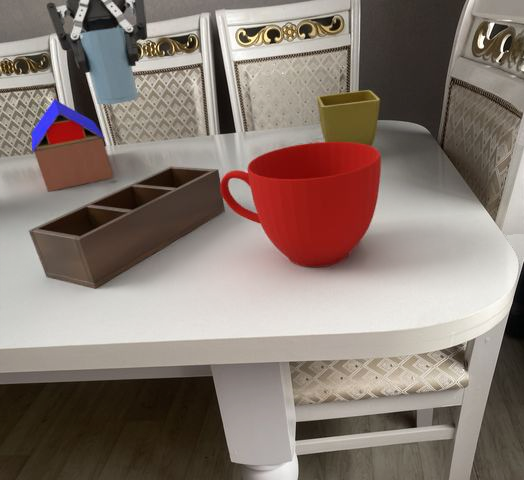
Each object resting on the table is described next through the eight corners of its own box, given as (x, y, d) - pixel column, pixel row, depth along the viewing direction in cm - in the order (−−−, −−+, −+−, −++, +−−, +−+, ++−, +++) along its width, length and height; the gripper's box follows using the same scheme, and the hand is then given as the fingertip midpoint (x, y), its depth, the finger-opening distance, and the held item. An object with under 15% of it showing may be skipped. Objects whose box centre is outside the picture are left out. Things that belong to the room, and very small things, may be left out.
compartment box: (46, 276, 60) (28, 230, 57) (178, 205, 76) (170, 166, 73) (95, 288, 56) (79, 239, 53) (225, 210, 72) (218, 169, 69)
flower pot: (380, 160, 83) (380, 98, 78) (324, 167, 83) (321, 105, 78) (370, 147, 90) (370, 89, 85) (319, 153, 91) (316, 96, 86)
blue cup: (89, 104, 78) (70, 34, 73) (118, 96, 82) (102, 29, 77) (118, 104, 75) (100, 31, 70) (146, 95, 79) (131, 25, 74)
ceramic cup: (252, 227, 65) (241, 144, 60) (390, 232, 59) (392, 139, 54) (206, 274, 56) (188, 180, 50) (365, 285, 50) (364, 179, 44)
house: (46, 192, 90) (20, 119, 84) (43, 167, 106) (22, 104, 99) (115, 177, 93) (96, 106, 86) (102, 155, 109) (85, 93, 102)
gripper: (29, -51, 73) (49, 52, 70) (133, -63, 74) (157, 37, 71) (47, -4, 80) (65, 91, 77) (141, -16, 82) (162, 76, 79)
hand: (109, 64), depth 74 cm, fingers closed on blue cup, 6 cm apart
